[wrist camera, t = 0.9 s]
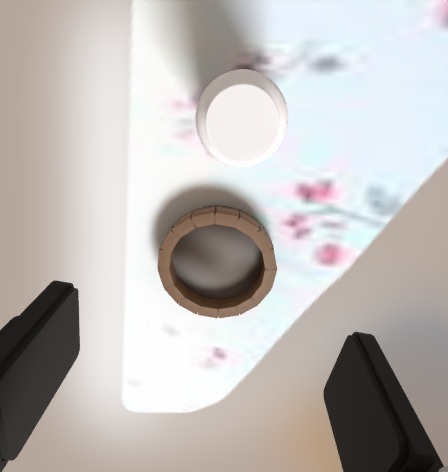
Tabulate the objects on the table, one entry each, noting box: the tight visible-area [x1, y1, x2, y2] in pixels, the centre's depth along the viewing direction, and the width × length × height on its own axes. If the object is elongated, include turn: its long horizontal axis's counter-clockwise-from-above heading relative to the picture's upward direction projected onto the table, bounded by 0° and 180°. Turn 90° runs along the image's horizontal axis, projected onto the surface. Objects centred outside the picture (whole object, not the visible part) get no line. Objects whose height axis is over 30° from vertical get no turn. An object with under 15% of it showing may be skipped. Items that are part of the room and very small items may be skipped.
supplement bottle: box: [196, 69, 288, 167], centre depth 25 cm, size 7×7×13 cm
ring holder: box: [158, 206, 277, 318], centre depth 36 cm, size 13×13×3 cm
